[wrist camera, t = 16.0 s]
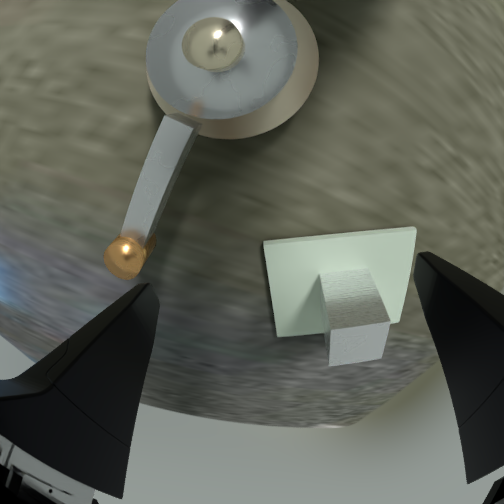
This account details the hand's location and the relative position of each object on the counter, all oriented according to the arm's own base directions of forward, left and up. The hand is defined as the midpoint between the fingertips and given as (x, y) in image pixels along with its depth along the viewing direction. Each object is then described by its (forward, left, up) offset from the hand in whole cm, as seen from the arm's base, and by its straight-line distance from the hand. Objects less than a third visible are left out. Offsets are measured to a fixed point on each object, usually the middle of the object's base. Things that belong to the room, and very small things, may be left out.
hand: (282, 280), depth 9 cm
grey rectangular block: (-4, +10, -11) cm, 15 cm away
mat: (-4, +10, -12) cm, 16 cm away
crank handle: (+5, -4, -9) cm, 11 cm away
